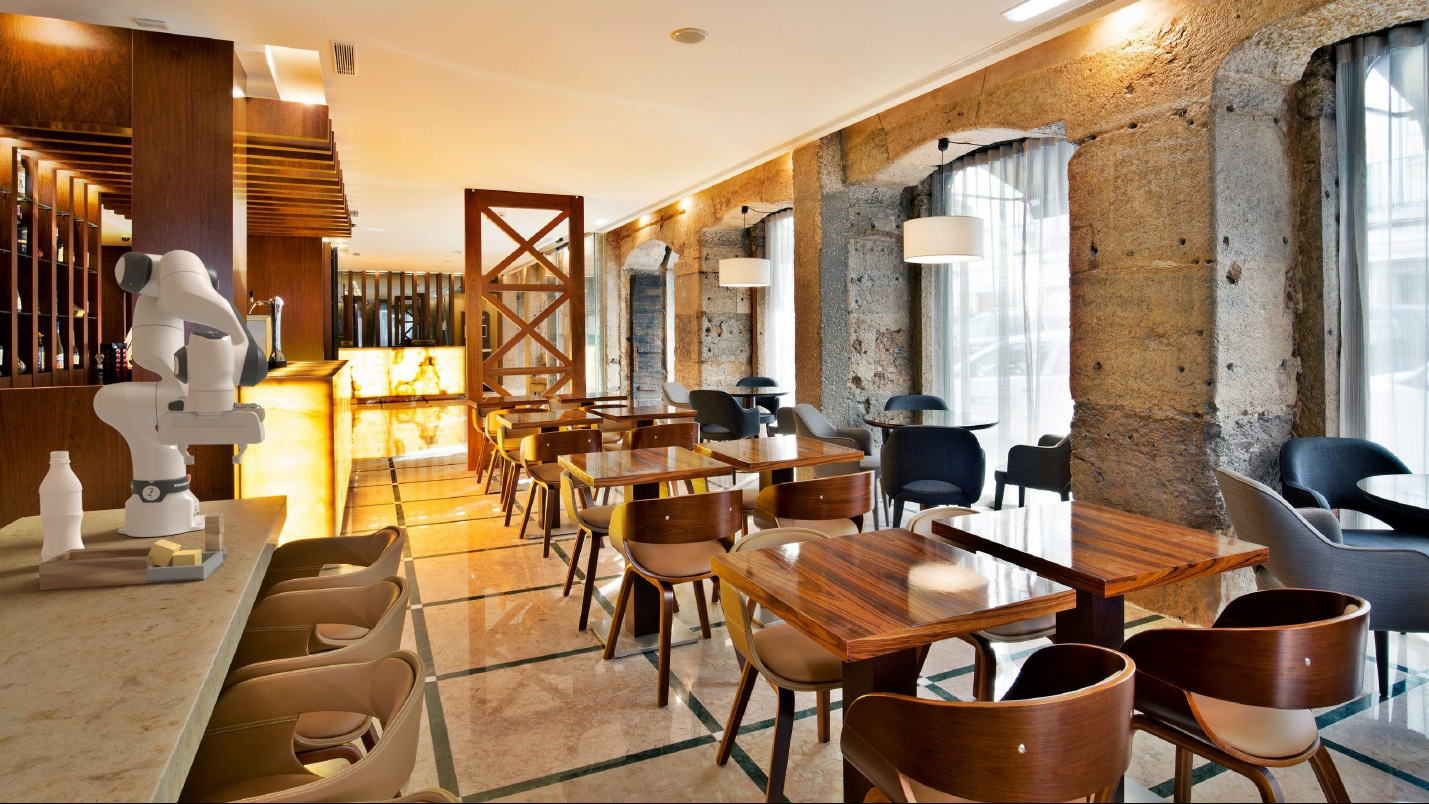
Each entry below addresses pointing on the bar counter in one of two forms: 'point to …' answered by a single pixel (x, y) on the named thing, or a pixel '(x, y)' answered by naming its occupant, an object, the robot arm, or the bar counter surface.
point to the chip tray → (187, 570)
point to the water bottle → (60, 508)
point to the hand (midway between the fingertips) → (213, 463)
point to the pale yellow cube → (187, 558)
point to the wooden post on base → (215, 534)
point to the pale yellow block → (163, 552)
